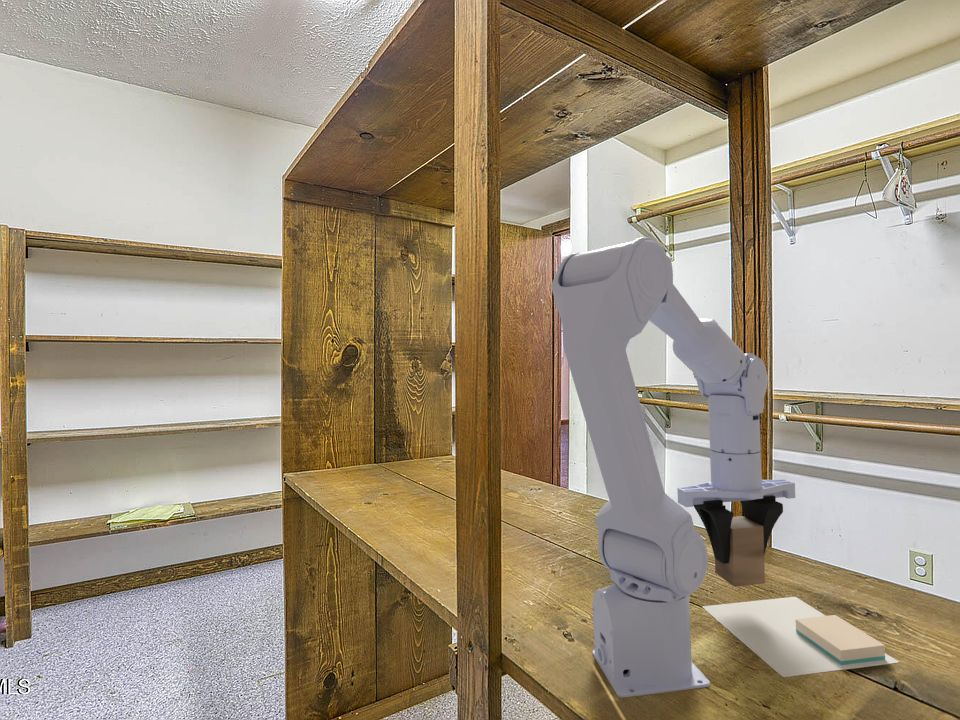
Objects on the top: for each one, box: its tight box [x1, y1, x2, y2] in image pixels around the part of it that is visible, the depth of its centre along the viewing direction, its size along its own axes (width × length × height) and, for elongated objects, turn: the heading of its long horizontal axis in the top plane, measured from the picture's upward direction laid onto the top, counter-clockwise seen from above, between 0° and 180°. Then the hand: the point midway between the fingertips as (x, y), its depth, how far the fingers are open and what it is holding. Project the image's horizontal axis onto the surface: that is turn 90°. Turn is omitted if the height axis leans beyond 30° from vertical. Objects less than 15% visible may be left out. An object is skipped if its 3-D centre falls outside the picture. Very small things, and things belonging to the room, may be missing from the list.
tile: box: [796, 614, 886, 665], centre depth 58 cm, size 5×2×6 cm
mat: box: [701, 596, 900, 678], centre depth 61 cm, size 13×15×1 cm
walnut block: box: [714, 515, 766, 588], centre depth 66 cm, size 4×4×7 cm
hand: (738, 558), depth 66 cm, fingers closed on walnut block, 4 cm apart
